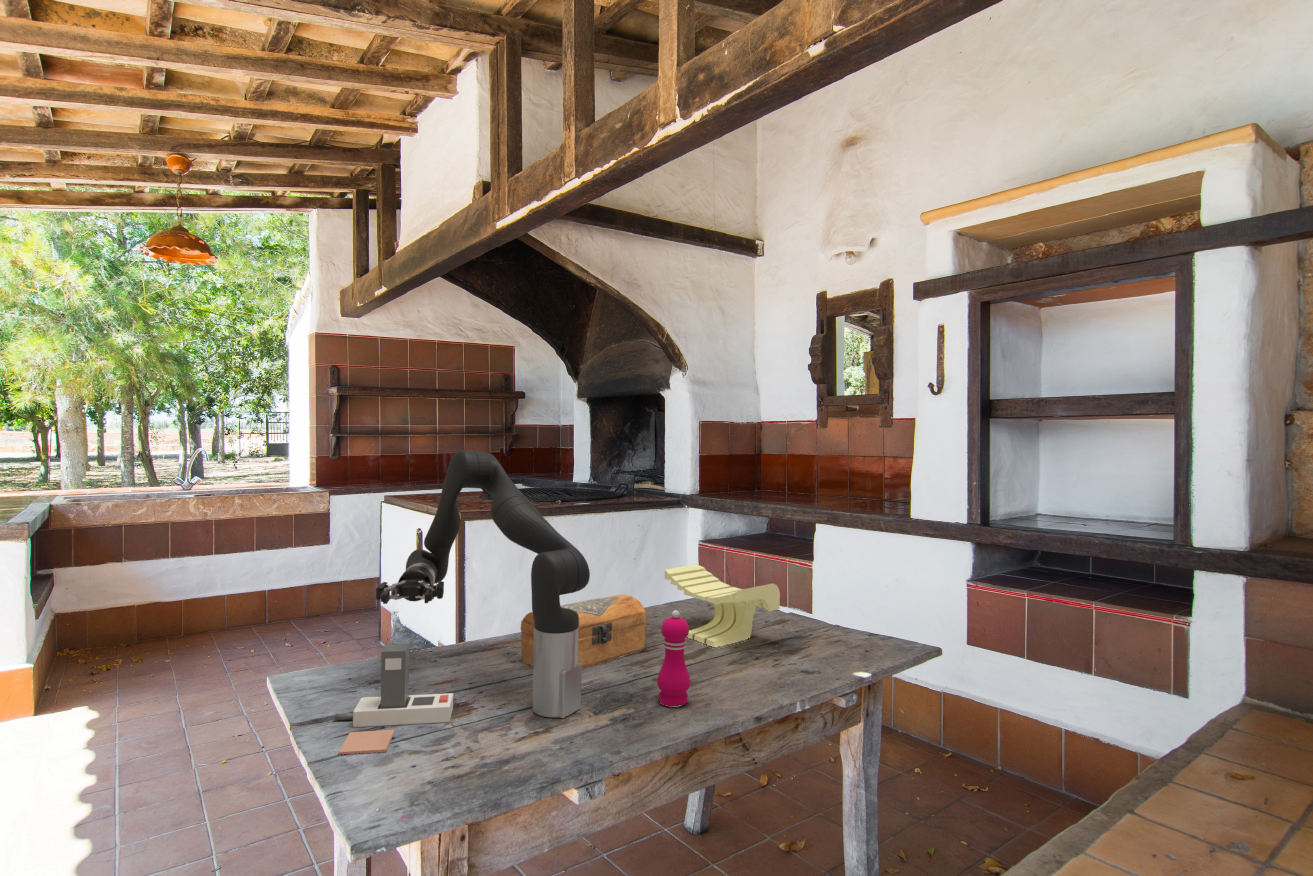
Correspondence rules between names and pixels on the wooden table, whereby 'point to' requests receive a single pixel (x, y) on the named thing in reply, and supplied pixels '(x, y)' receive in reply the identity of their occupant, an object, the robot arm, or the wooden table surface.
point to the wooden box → (598, 629)
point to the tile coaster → (367, 742)
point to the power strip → (401, 711)
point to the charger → (394, 676)
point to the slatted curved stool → (723, 604)
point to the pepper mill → (674, 662)
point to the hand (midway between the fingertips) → (405, 599)
